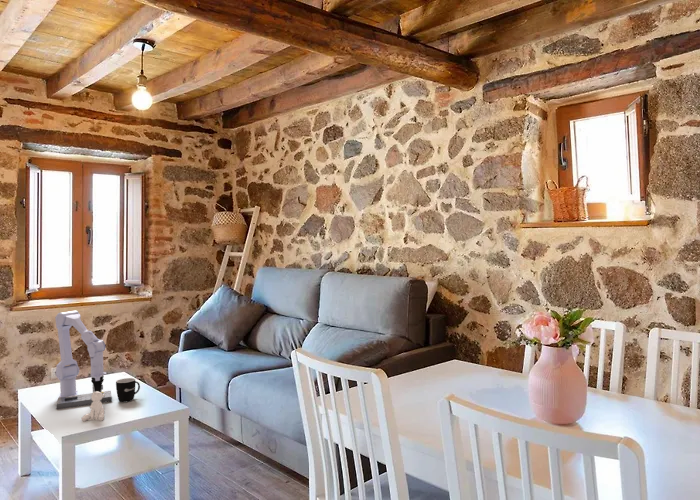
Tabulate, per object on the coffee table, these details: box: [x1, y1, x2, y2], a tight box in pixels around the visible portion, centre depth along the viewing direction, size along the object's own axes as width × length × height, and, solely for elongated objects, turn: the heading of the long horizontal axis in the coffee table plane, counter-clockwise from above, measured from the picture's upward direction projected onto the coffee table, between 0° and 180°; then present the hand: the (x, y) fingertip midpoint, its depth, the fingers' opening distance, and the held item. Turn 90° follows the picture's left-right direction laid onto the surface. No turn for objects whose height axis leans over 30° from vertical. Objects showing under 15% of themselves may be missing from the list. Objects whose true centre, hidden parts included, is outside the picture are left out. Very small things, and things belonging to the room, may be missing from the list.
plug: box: [92, 384, 104, 393], centre depth 265 cm, size 4×5×7 cm
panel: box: [56, 390, 113, 410], centre depth 262 cm, size 12×24×3 cm, turn 116°
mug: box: [115, 377, 141, 403], centre depth 265 cm, size 12×9×10 cm
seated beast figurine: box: [81, 391, 105, 422], centre depth 238 cm, size 10×9×12 cm
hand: (98, 392), depth 265 cm, fingers closed on plug, 4 cm apart
